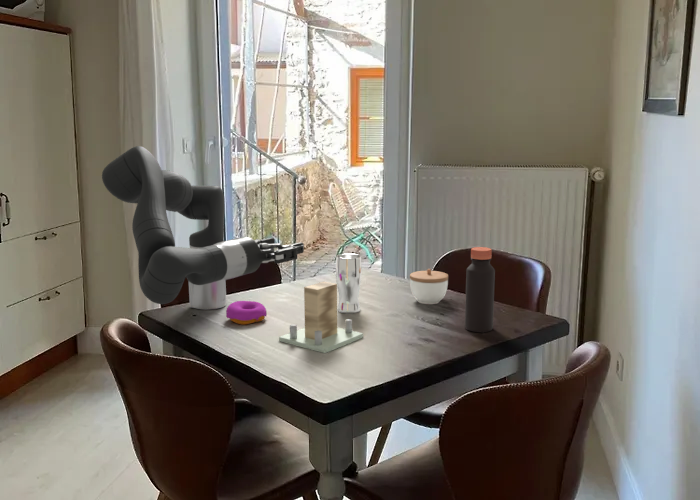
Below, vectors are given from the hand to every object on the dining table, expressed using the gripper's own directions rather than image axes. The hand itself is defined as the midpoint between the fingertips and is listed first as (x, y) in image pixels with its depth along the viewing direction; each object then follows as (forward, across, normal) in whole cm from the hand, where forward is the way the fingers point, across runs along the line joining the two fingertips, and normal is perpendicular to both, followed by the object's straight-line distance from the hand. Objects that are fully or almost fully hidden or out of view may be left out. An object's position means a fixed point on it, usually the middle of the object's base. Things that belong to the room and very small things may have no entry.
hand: (287, 244), depth 152 cm
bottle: (+40, -26, +25) cm, 54 cm away
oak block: (+10, 0, +24) cm, 26 cm away
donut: (+11, +25, +25) cm, 37 cm away
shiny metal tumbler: (+34, +10, +25) cm, 43 cm away
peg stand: (+10, 0, +24) cm, 27 cm away
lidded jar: (+54, -3, +26) cm, 60 cm away
